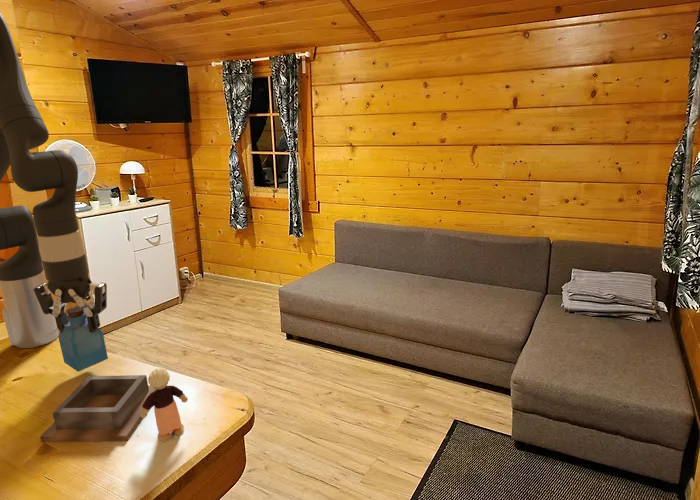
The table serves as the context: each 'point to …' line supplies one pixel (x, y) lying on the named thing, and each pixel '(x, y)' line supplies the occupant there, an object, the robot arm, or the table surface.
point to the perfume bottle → (81, 341)
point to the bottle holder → (100, 410)
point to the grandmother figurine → (164, 404)
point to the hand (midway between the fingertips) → (79, 330)
